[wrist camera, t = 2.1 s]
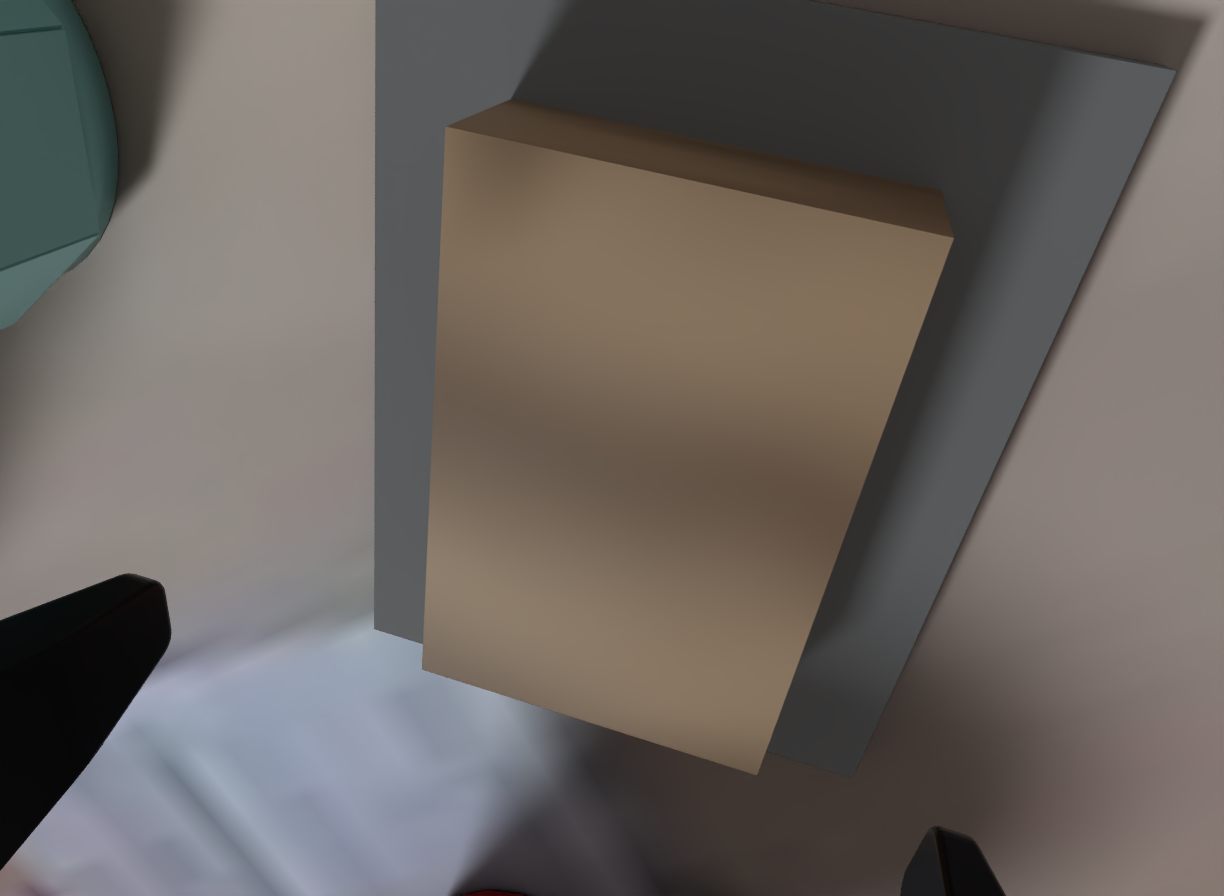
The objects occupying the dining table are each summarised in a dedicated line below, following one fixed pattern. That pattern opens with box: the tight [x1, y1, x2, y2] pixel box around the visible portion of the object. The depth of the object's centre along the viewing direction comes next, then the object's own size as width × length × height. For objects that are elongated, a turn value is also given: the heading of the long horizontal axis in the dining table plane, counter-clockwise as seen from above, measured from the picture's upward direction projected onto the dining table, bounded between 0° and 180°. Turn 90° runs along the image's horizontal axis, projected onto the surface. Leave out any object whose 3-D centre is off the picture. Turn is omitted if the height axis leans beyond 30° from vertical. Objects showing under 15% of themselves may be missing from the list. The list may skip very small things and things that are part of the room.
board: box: [422, 99, 954, 775], centre depth 14 cm, size 10×6×2 cm, turn 171°
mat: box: [374, 0, 1176, 778], centre depth 16 cm, size 14×11×1 cm
